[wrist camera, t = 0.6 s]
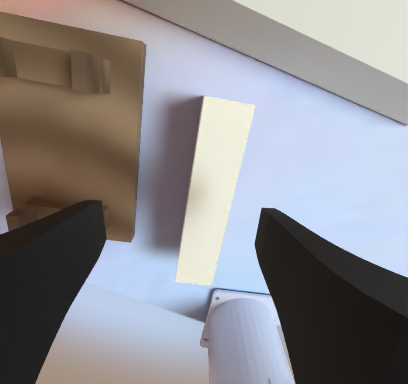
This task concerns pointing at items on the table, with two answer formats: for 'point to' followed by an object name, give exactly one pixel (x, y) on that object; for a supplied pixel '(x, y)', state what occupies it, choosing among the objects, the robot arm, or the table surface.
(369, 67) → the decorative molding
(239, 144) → the cream rectangular block
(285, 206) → the table surface
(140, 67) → the walnut rack
